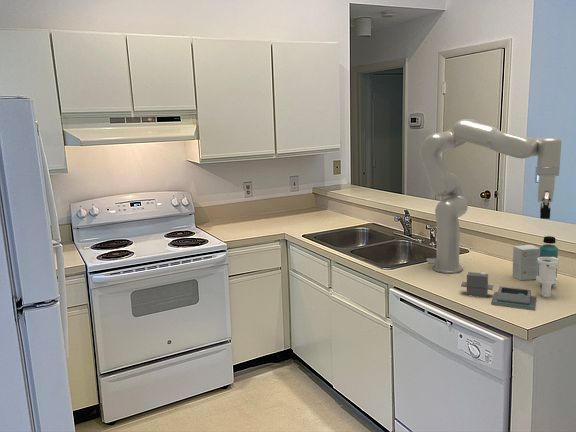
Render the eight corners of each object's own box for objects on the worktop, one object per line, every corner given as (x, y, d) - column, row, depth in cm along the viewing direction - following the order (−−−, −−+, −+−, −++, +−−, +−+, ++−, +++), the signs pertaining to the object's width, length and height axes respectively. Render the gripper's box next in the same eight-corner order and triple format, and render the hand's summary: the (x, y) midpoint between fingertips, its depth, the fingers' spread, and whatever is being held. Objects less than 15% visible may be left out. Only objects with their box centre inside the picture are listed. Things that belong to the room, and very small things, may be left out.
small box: (530, 274, 205) (531, 244, 202) (539, 279, 199) (541, 248, 196) (511, 275, 204) (513, 245, 202) (520, 280, 198) (521, 249, 195)
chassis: (491, 304, 175) (491, 292, 174) (494, 294, 185) (495, 282, 184) (534, 310, 169) (535, 297, 168) (536, 299, 178) (537, 287, 177)
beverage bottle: (558, 286, 190) (561, 236, 186) (553, 291, 185) (557, 239, 181) (540, 282, 194) (543, 233, 190) (535, 287, 190) (537, 237, 186)
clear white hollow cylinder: (550, 300, 176) (553, 260, 174) (531, 295, 182) (533, 256, 179) (560, 295, 181) (563, 256, 178) (541, 290, 186) (543, 252, 183)
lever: (460, 294, 186) (461, 271, 185) (462, 291, 190) (463, 268, 188) (491, 298, 181) (492, 275, 179) (493, 294, 185) (494, 271, 183)
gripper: (536, 168, 192) (534, 211, 196) (536, 173, 177) (533, 220, 181) (558, 168, 189) (555, 212, 192) (560, 174, 174) (556, 221, 177)
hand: (544, 216), depth 187 cm, fingers open, 9 cm apart
